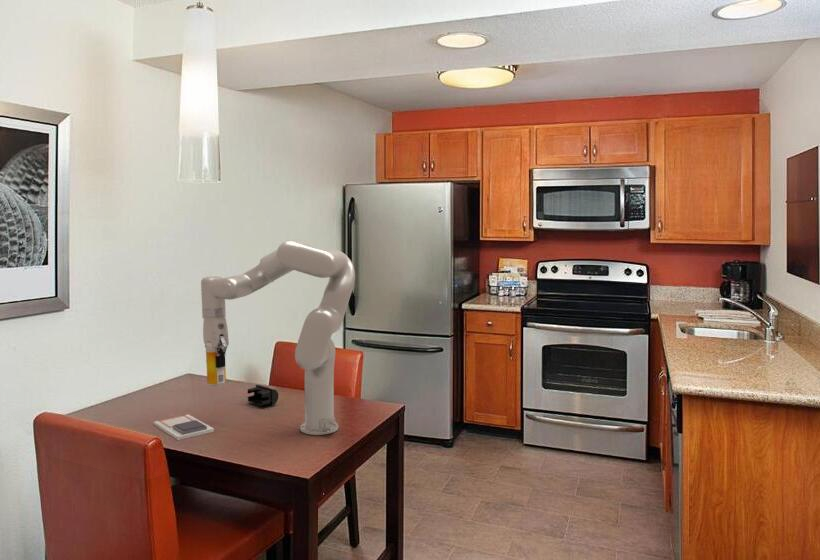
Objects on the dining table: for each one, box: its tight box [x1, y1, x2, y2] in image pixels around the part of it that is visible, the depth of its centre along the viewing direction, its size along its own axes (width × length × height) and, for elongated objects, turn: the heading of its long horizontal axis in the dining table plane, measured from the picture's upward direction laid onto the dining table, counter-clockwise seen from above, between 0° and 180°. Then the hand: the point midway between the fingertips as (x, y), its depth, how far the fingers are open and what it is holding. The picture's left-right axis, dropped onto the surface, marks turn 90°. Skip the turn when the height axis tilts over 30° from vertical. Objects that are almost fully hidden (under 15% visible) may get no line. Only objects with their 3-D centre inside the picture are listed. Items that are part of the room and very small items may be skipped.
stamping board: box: [153, 414, 215, 441], centre depth 203 cm, size 20×12×2 cm, turn 43°
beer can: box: [205, 342, 227, 387], centre depth 208 cm, size 6×6×15 cm
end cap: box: [247, 384, 279, 410], centre depth 230 cm, size 10×7×7 cm
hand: (216, 365), depth 208 cm, fingers closed on beer can, 6 cm apart
